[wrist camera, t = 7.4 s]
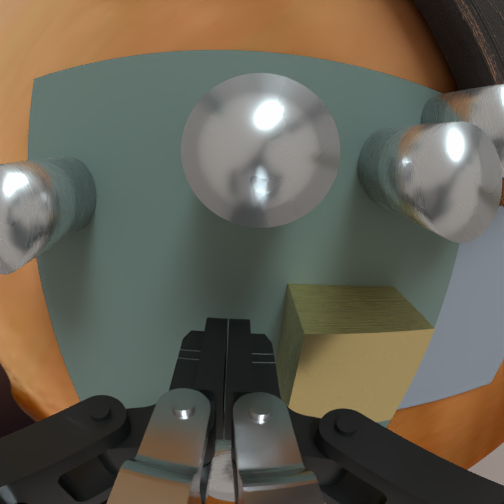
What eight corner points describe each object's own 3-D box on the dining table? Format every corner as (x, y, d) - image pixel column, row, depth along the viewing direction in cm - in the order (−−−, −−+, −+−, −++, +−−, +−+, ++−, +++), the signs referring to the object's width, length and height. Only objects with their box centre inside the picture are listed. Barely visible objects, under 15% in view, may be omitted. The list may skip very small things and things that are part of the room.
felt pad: (546, 219, 10) (550, 221, 10) (487, 379, 14) (490, 382, 14) (462, 195, 10) (468, 197, 9) (394, 405, 14) (396, 409, 13)
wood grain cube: (394, 286, 11) (435, 328, 8) (366, 370, 12) (390, 419, 9) (287, 283, 10) (304, 334, 7) (274, 374, 12) (282, 431, 9)
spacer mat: (468, 107, 9) (473, 107, 8) (372, 442, 15) (374, 446, 15) (39, 80, 8) (34, 79, 7) (100, 433, 14) (98, 437, 14)
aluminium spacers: (473, 107, 8) (542, 104, 4) (374, 446, 15) (391, 492, 11) (42, 76, 7) (-26, 60, 4) (105, 439, 14) (88, 486, 10)
